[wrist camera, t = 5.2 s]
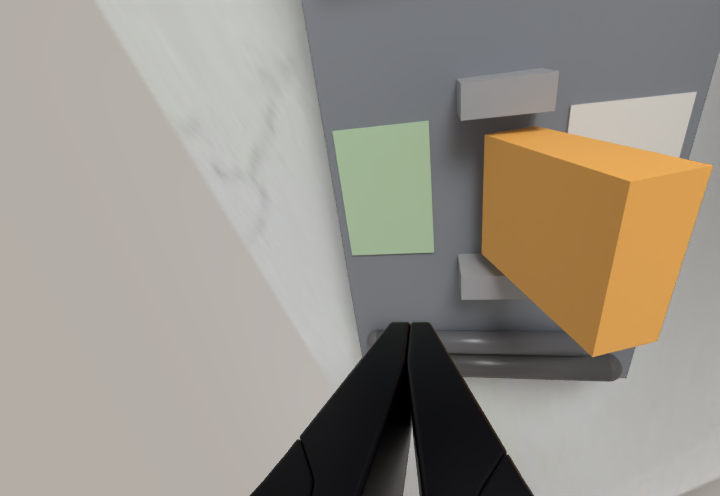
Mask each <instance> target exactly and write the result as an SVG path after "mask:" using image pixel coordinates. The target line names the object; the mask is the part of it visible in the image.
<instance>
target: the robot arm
mask: <svg viewBox="0 0 720 496" xmlns="http://www.w3.org/2000/svg"><path fill="white" fill-rule="evenodd" d="M412 428H413V439H414V448H415V457H416V466H417V475H418V485H419V494H420V496H534V495H533V493H532V492H531V490H530V488H529V487H528V485H527V484H526V482H525V481H524V479H523V477H522V476H521V474H520V472H519V471H518V469H517V467H516V466H515V464H514V462H513V461H512V459H511V457H510V456H509V455H506V454H507V452H506V449H505V448H504V446H503V444H502V443H501V441H500V439H499V438H498V436H497V434H496V433H495V431H494V429H493V428H492V426H491V424H490V422H489V421H488V419H487V417H486V416H485V414H484V412H483V411H482V409H481V407H480V406H479V404H478V402H477V401H476V399H475V397H474V396H473V394H472V392H471V391H470V389H469V387H468V385H467V384H466V382H465V380H464V379H463V377H462V375H461V374H460V372H459V370H458V369H457V367H456V365H455V364H454V362H453V360H452V359H451V357H450V355H449V354H448V352H447V350H446V348H445V347H444V345H443V343H442V342H441V340H440V338H439V337H438V335H437V333H436V332H435V330H434V328H433V327H432V325H431V324H430V323H429V322H412V323H411V324H410V323H409V322H391V323H390V324H389V325H388V326H387V327H386V329H385V330H384V331H383V332H382V334H381V335H380V336H379V337H378V339H377V340H376V341H375V342H374V344H373V345H372V346H371V347H370V349H369V350H368V351H367V353H366V354H365V355H364V356H363V358H362V359H361V360H360V361H359V363H358V364H357V365H356V366H355V368H354V369H353V370H352V371H351V373H350V374H349V375H348V376H347V378H346V379H345V380H344V381H343V383H342V384H341V385H340V387H339V388H338V389H337V390H336V392H335V393H334V394H333V395H332V397H331V398H330V399H329V400H328V402H327V403H326V404H325V405H324V407H323V408H322V409H321V411H320V412H319V413H318V414H317V416H316V417H315V418H314V419H313V420H312V422H311V423H310V424H309V426H308V427H307V428H306V429H305V431H304V432H303V433H302V434H301V436H300V440H301V441H300V440H299V439H298V440H296V442H295V443H294V444H293V445H292V447H291V448H290V449H289V450H288V452H287V453H286V454H285V455H284V457H283V458H282V459H281V460H280V461H279V463H278V464H277V465H276V466H275V467H274V469H273V470H272V471H271V472H270V473H269V475H268V476H267V477H266V478H265V480H264V481H263V482H262V483H261V484H260V485H259V486H258V487H257V488H256V490H255V491H254V492H253V493H252V494H251V495H250V496H403V491H404V484H405V476H406V469H407V461H408V454H409V446H410V439H411V429H412Z"/></svg>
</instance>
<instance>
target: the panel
mask: <svg viewBox="0 0 720 496" xmlns="http://www.w3.org/2000/svg"><path fill="white" fill-rule="evenodd" d="M302 6H303V12H304V18H305V24H306V29H307V35H308V41H309V47H310V53H311V59H312V65H313V71H314V76H315V82H316V88H317V94H318V100H319V106H320V112H321V118H322V123H323V129H324V135H325V141H326V147H327V153H328V159H329V165H330V170H331V176H332V182H333V188H334V194H335V200H336V206H337V212H338V217H339V223H340V229H341V235H342V241H343V247H344V253H345V259H346V264H347V270H348V276H349V282H350V288H351V294H352V300H353V305H354V311H355V317H356V323H357V329H358V335H359V341H360V347H361V352H362V358H363V356H364V355H365V354H366V353H367V351H368V350H369V349H370V347H371V346H372V345H373V344H374V342H375V341H376V340H377V339H378V337H379V336H380V335H381V334H382V332H383V331H384V330H385V329H386V327H387V326H388V325H389V324H390V323H391V322H409V323H410V324H411V323H412V322H429V323H430V324H431V325H432V327H433V328H434V330H435V332H436V333H437V335H438V337H439V338H440V340H441V342H442V343H443V345H444V347H445V348H446V350H447V352H448V354H449V355H450V357H451V359H452V360H453V362H454V364H455V365H456V367H457V369H458V370H459V372H460V374H461V375H462V377H483V378H514V379H546V380H577V381H614V380H616V379H618V378H627V374H628V371H629V367H630V364H631V360H632V357H633V353H634V350H635V347H631V348H627V349H623V350H619V351H615V352H611V353H607V354H603V355H599V356H595V357H592V356H591V355H589V354H588V353H587V352H586V351H585V350H584V349H583V348H582V347H581V346H580V345H579V344H578V343H577V342H576V341H574V340H573V339H572V338H571V337H570V336H569V335H568V334H567V333H566V332H565V331H564V330H563V329H562V328H561V327H560V326H558V325H557V324H556V323H555V322H554V321H553V320H552V319H551V318H550V317H549V316H548V315H547V314H546V313H545V312H543V311H542V310H541V309H540V308H539V307H538V306H537V305H536V304H535V303H534V302H533V301H532V300H531V299H530V298H529V297H527V296H526V295H525V294H524V293H523V292H522V291H521V290H520V289H519V288H518V287H517V286H516V285H515V284H514V283H512V282H511V281H510V280H509V279H508V278H507V277H506V276H505V275H504V274H503V273H502V272H501V271H500V270H499V269H497V268H496V267H495V266H494V265H493V264H492V263H491V262H490V261H489V260H488V259H487V258H486V257H485V256H484V255H483V254H482V217H483V178H484V140H485V135H486V134H491V133H497V132H503V131H509V130H514V129H520V128H526V127H531V126H538V127H542V128H547V129H551V130H556V131H560V132H565V133H569V134H574V135H579V136H583V137H588V138H592V139H597V140H601V141H606V142H610V143H615V144H619V145H624V146H628V147H633V148H637V149H642V150H646V151H651V152H655V153H660V154H664V155H669V156H673V157H678V158H682V159H687V160H689V156H690V152H691V149H692V145H693V142H694V138H695V135H696V131H697V128H698V124H699V121H700V117H701V114H702V110H703V107H704V103H705V100H706V96H707V93H708V89H709V86H710V82H711V79H712V75H713V72H714V68H715V65H716V61H717V57H718V54H719V50H720V0H302Z"/></svg>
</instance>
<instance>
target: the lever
mask: <svg viewBox="0 0 720 496" xmlns="http://www.w3.org/2000/svg"><path fill="white" fill-rule="evenodd" d="M712 168H713V165H710V164H705V163H701V162H696V161H691V160H687V159H682V158H678V157H673V156H669V155H664V154H660V153H655V152H651V151H646V150H642V149H637V148H633V147H628V146H624V145H619V144H615V143H610V142H606V141H601V140H597V139H592V138H588V137H583V136H579V135H574V134H569V133H565V132H560V131H556V130H551V129H547V128H542V127H538V126H531V127H526V128H520V129H514V130H509V131H503V132H497V133H491V134H486V135H485V140H484V178H483V217H482V254H483V255H484V256H485V257H486V258H487V259H488V260H489V261H490V262H491V263H492V264H493V265H494V266H495V267H496V268H497V269H499V270H500V271H501V272H502V273H503V274H504V275H505V276H506V277H507V278H508V279H509V280H510V281H511V282H512V283H514V284H515V285H516V286H517V287H518V288H519V289H520V290H521V291H522V292H523V293H524V294H525V295H526V296H527V297H529V298H530V299H531V300H532V301H533V302H534V303H535V304H536V305H537V306H538V307H539V308H540V309H541V310H542V311H543V312H545V313H546V314H547V315H548V316H549V317H550V318H551V319H552V320H553V321H554V322H555V323H556V324H557V325H558V326H560V327H561V328H562V329H563V330H564V331H565V332H566V333H567V334H568V335H569V336H570V337H571V338H572V339H573V340H574V341H576V342H577V343H578V344H579V345H580V346H581V347H582V348H583V349H584V350H585V351H586V352H587V353H588V354H589V355H591V356H592V357H595V356H599V355H603V354H607V353H611V352H615V351H619V350H623V349H627V348H631V347H635V346H639V345H643V344H647V343H651V342H655V341H658V337H659V334H660V331H661V328H662V325H663V322H664V319H665V315H666V312H667V309H668V306H669V303H670V300H671V297H672V293H673V290H674V287H675V284H676V281H677V278H678V275H679V271H680V268H681V265H682V262H683V259H684V256H685V252H686V249H687V246H688V243H689V240H690V237H691V234H692V230H693V227H694V224H695V221H696V218H697V215H698V212H699V208H700V205H701V202H702V199H703V196H704V193H705V190H706V186H707V183H708V180H709V177H710V174H711V171H712Z"/></svg>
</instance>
